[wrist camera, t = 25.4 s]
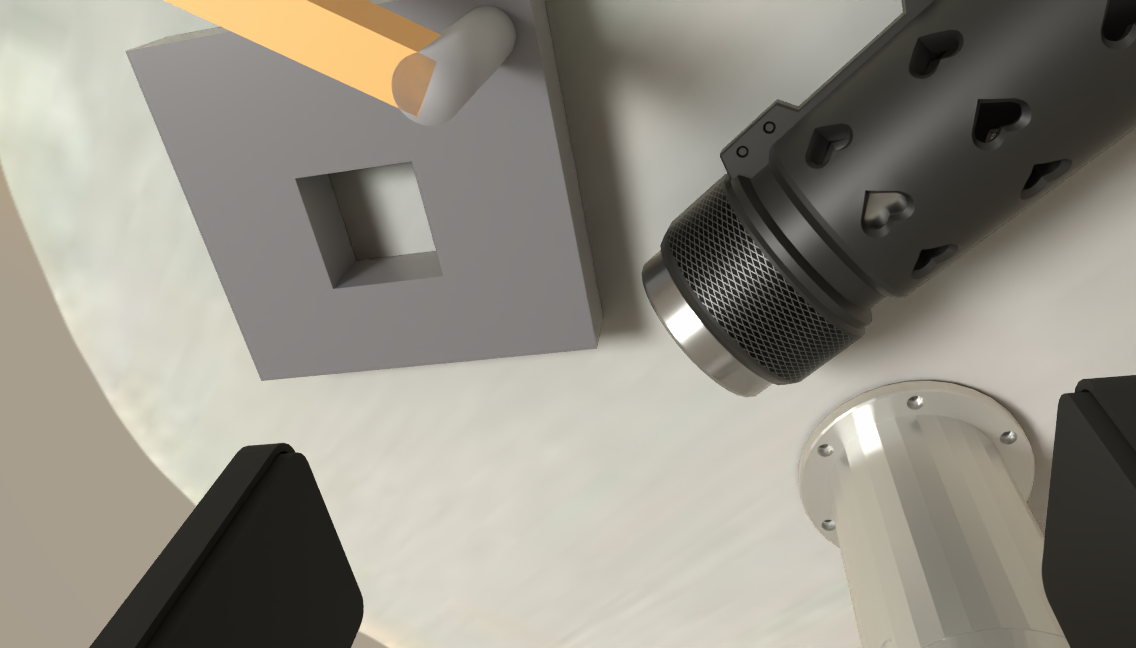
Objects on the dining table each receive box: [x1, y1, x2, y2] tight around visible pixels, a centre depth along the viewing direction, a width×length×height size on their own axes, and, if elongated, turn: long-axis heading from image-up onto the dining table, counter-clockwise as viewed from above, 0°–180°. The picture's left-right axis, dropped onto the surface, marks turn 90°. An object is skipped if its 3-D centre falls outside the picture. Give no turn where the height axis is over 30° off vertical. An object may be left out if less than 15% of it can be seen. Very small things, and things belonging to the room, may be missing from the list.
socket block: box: [126, 0, 603, 381], centre depth 42 cm, size 18×19×4 cm
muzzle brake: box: [642, 0, 1136, 397], centre depth 35 cm, size 10×28×10 cm
